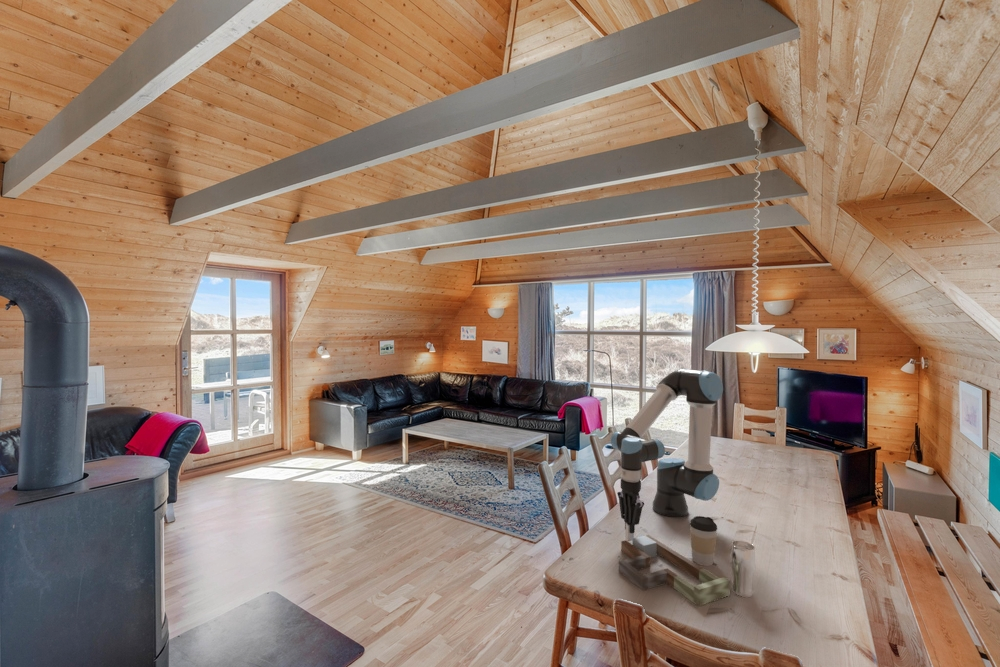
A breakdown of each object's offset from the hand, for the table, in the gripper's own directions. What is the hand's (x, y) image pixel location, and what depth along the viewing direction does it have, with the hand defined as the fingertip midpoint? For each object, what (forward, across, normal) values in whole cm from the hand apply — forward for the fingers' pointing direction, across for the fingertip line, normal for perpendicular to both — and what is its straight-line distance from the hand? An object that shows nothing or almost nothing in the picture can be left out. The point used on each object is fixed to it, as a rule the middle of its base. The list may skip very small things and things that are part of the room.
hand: (629, 539), depth 176 cm
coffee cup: (+2, +20, +16) cm, 26 cm away
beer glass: (+2, +39, +12) cm, 41 cm away
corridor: (+2, +21, -5) cm, 22 cm away
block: (+2, +8, 0) cm, 8 cm away
